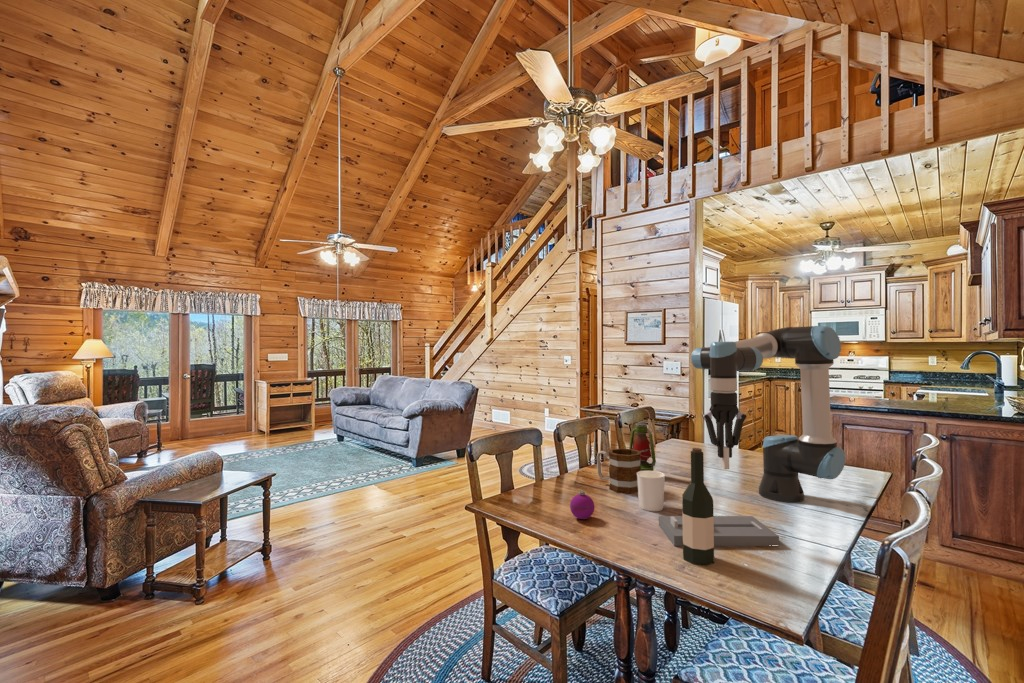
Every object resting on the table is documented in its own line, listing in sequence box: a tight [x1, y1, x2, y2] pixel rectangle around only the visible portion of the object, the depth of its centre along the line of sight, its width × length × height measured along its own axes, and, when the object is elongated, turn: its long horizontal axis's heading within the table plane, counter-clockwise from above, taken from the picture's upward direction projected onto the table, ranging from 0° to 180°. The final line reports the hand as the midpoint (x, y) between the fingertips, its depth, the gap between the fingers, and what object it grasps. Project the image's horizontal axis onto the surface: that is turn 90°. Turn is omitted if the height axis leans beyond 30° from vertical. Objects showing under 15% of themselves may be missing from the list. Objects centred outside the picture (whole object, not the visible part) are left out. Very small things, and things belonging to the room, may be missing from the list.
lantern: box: [628, 407, 657, 471], centre depth 212 cm, size 14×11×30 cm
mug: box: [596, 447, 641, 495], centre depth 195 cm, size 20×14×15 cm
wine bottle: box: [681, 447, 715, 567], centre depth 129 cm, size 8×8×30 cm
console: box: [658, 515, 780, 547], centre depth 145 cm, size 30×16×5 cm, turn 88°
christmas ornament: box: [569, 488, 595, 520], centre depth 160 cm, size 8×8×10 cm
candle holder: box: [637, 470, 666, 512], centre depth 170 cm, size 10×10×12 cm
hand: (725, 468), depth 146 cm, fingers closed
